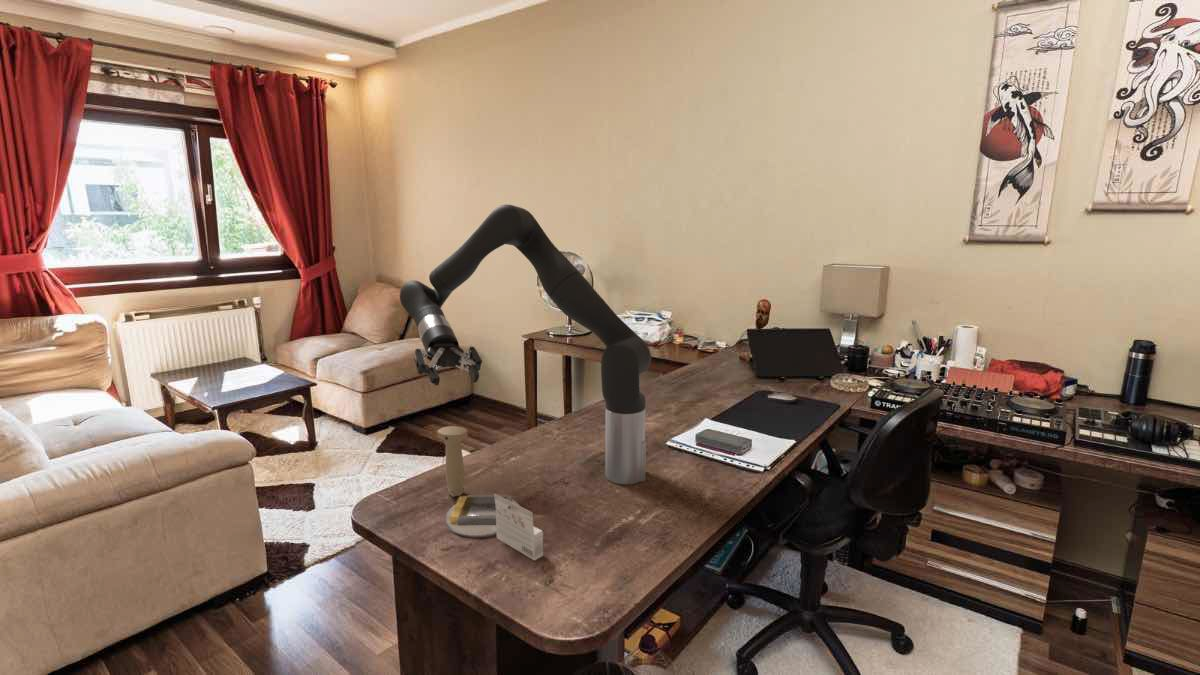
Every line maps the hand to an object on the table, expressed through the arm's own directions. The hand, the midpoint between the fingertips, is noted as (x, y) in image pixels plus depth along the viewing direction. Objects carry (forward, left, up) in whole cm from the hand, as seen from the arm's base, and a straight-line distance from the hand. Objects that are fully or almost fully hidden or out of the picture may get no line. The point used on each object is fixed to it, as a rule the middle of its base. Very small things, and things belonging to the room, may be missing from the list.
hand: (457, 381), depth 126 cm
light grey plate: (-7, +13, -25) cm, 29 cm away
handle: (+1, +3, -26) cm, 26 cm away
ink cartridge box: (-16, +23, -26) cm, 38 cm away
